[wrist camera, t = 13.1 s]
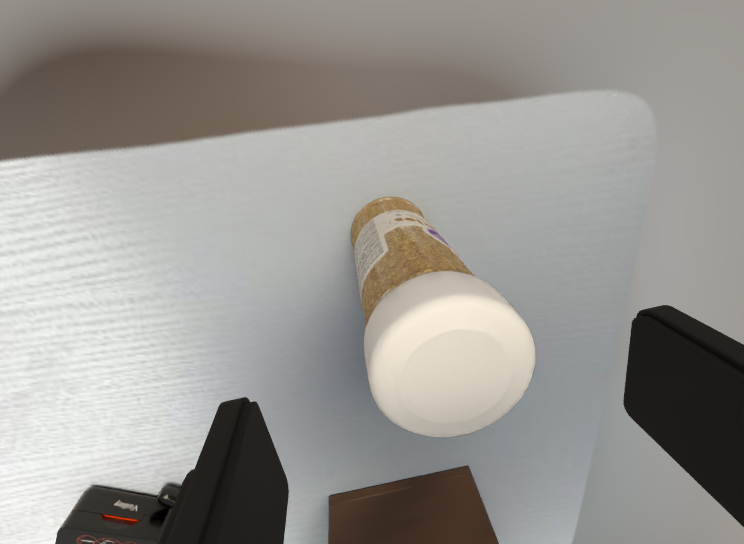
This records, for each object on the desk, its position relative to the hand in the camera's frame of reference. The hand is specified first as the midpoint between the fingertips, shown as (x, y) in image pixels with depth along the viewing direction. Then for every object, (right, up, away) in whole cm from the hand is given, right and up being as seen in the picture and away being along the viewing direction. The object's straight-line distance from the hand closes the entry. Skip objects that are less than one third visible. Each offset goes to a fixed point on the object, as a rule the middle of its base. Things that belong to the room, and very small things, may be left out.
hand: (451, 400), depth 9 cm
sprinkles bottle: (-1, +6, +13) cm, 14 cm away
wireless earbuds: (-19, -14, +19) cm, 30 cm away
